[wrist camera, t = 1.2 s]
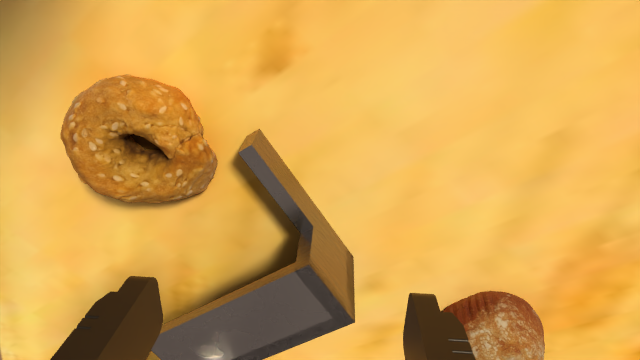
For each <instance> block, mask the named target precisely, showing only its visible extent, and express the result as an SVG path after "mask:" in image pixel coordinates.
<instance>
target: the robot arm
mask: <svg viewBox="0 0 640 360" xmlns="http://www.w3.org/2000/svg"><path fill="white" fill-rule="evenodd" d="M162 322H163V313H162V307H161V301H160V295H159V288H158V283H157V280H156V278H154V277H137V276H130V277H129V278H128V279H127V280H126V281H125V282H124V284H123V285H122V287H121V288H120V289H119V291H118V292H110V293H108V294H107V295H105V296H104V297H102V298H101V299H100V300H98V301H97V302H95V304H94V305H93V306H92V307H91V309H90V310H89V311H88V313H87V314H86V315H85V318H83V319H82V320H81V321H80V323H79V324H78V325H77V328H76V329H74V330H73V332H72V333H71V334H70V335H69V337H68V338H67V339H66V340H65V342H64V343H63V344H62V346H61V347H60V348H59V349H58V351H57V352H56V353H55V354H54V356H53V357H52V358H51V359H50V360H146V359H147V357H148V355H149V353H150V351H151V349H152V348H153V346H154V344H155V342H156V340H157V338H158V336H159V334H160V331H161V328H162ZM468 340H469V339H468V337H467V334H466V331H465V328H464V326H463V324H462V323H461V322H460V321H459V320H458V319H457V317H456V316H455V315H454V314H453V313H452V312H440V309H439V306H438V303H437V299H436V296H435V295H434V294H420V293H410V294H409V298H408V305H407V311H406V318H405V325H404V332H403V346H404V354H405V360H476V359H475V356H474V354H473V351H472V348H471V345H470V342H469V341H468Z"/></svg>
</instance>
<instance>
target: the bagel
mask: <svg viewBox="0 0 640 360" xmlns="http://www.w3.org/2000/svg"><path fill="white" fill-rule="evenodd" d="M128 134H135V135H139V136H141V137H144V138H145V139H147V140H148V141H150V142H151V143H153V144H155V145H156V146H157V147H159V148H160V149H150V150H146V149H144V148H143V147H141V146H140V145H139V144H138V143H136V142H135V141H134V139H133V138H132V137H131V136H129V135H128ZM202 135H203V126H202V125H201V123H200V117H199V116H198V115H197V114H196V112H195V111H194V109H193V107H192V105H191V103H190V100H189V99H188V98H187V97H186V96H185V95H184V94H183V93H182V92H181V90H179V89H178V88H176V87H172V86H168V85H166V84H163V83H160V82H158V81H155V80H151V79H146V78H139V77H134V76H131V75H123V76H116V77H112V78H109V79H107V78H105V79H102V80H99V81H98V82H96V83H95V84H94V85H92V86H91V87H90V88H89V89H87V90H85V91H83V92H81V93H80V94H79V95H78V96H76V97H75V99H74V100H73V101H72V105H71V106H70V108H69V110H68V112H67V113H66V115H65V118H64V123H63V125H62V130H61V139H62V141H63V143H64V145H65V148H66V153H67V155H68V157H69V158H70V160H71V163H72V165H73V168H74V169H75V171H76V172H77V173H78V176H79V178H80V180H81V181H82V182H83V183H85V184H88V185H89V186H90V187H91V188H92V189H93V190H95V191H96V192H98V193H100V194H103V195H107V196H109V197H112V198H116V199H119V200H121V201H124V202H130V203H132V202H134V203H135V202H148V203H161V202H164V201H174V200H180V199H183V198H186V197H190V196H193V195H196V194H199V193H201V192H203V191H204V190H205V189H206V188H207V186H208V184H209V182H210V180H211V179H212V178H213V176H214V174H215V170H216V167H217V158H216V155H215V153H214V152H213V150H211V148H210V147H209V145H208V144H207V141H206V140H205V139H203V137H202Z"/></svg>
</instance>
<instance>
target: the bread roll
mask: <svg viewBox="0 0 640 360" xmlns="http://www.w3.org/2000/svg"><path fill="white" fill-rule="evenodd" d="M443 312H452V313H453V314H454V315H455V316H456V317H457V319H458V320H459V321H460V322H461V323H462V324H463V326H464V328H465V331H466V334H467V337H468V339H469V340H468V341H469V342H470V345H471V348H472V351H473V354H474V356H475V359H476V360H544V352H545V351H544V350H545V343H544V332H543V326H542V323H541V320H540V318H539V317H538V315H537V314H536V312H535V311H534V310H533V308H532V307H531V306H530V305H529V304H528V303H527V302H526V301H525V300H523V299H521V298H519V297H517V296H515V295H512V294H509V293H505V292H494V291H489V292H480V293H477V294H475V295H471V296H469V297H468V298H464V299H462V300H460V301H458V302H456V303H453V304H451V305H450V306H448V307H447V308H446V309H445V310H444V311H443Z"/></svg>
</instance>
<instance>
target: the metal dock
mask: <svg viewBox="0 0 640 360" xmlns="http://www.w3.org/2000/svg"><path fill="white" fill-rule="evenodd" d="M238 153H239V154H240V156H241V157H242V158H243V160H244V161H245V162H246V163H247V165H248V166H249V167H250V169H251V170H252V171H253V172H254V174H255V175H256V176H257V178H258V179H259V180H260V181H261V183H262V184H263V185H264V187H265V188H266V189H267V190H268V192H269V193H270V194H271V196H272V197H273V198H274V199H275V201H276V202H277V203H278V205H279V206H280V207H281V209H282V210H283V211H284V212H285V214H286V215H287V216H288V218H289V219H290V220H291V221H292V223H293V224H294V225H295V227H296V228H297V229H298V230H299V232H300V239H299V245H298V252H297V258H296V262H295V263H293V264H291V265H288V266H286V267H284V268H282V269H280V270H278V271H276V272H274V273H272V274H269V275H267V276H265V277H263V278H261V279H259V280H257V281H255V282H253V283H250V284H248V285H246V286H244V287H242V288H240V289H238V290H236V291H233V292H231V293H229V294H227V295H225V296H223V297H221V298H219V299H217V300H214V301H212V302H210V303H208V304H206V305H204V306H202V307H200V308H198V309H195V310H193V311H191V312H189V313H187V314H185V315H183V316H181V317H178V318H176V319H174V320H172V321H170V322H168V323H166V324H164V325H162V328H161V331H160V334H159V336H158V338H157V340H156V342H155V344H154V346H153V348H152V349H151V351H152V352H153V353H155V354H156V355H157V356H158V357H159V358H160V359H161V360H262V359H265V358H267V357H270V356H272V355H275V354H277V353H280V352H282V351H285V350H287V349H290V348H292V347H295V346H297V345H300V344H302V343H305V342H307V341H310V340H312V339H315V338H317V337H320V336H322V335H325V334H327V333H330V332H332V331H335V330H337V329H340V328H342V327H345V326H347V325H350V324H352V323H355V303H354V264H353V256H352V255H351V253H350V252H349V251H348V249H347V248H346V246H345V245H344V244H343V242H342V241H341V240H340V238H339V237H338V236H337V234H336V233H335V231H334V230H333V229H332V227H331V226H330V225H329V223H328V222H327V220H326V219H325V218H324V216H323V215H322V214H321V212H320V211H319V210H318V208H317V207H316V205H315V204H314V203H313V201H312V200H311V199H310V197H309V196H308V195H307V193H306V192H305V190H304V189H303V188H302V186H301V185H300V184H299V182H298V181H297V180H296V178H295V177H294V175H293V174H292V173H291V171H290V170H289V169H288V167H287V166H286V164H285V163H284V162H283V160H282V159H281V158H280V156H279V155H278V154H277V152H276V151H275V149H274V148H273V147H272V145H271V144H270V143H269V141H268V140H267V139H266V137H265V136H264V134H263V133H262V132H261V130H260V129H258V130H257V131H255V132H253V133H252V134H250V135H248V136H247V137H246V139H245V141H244V143H243V145H242V146H241V148H240V150H239V152H238Z"/></svg>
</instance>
